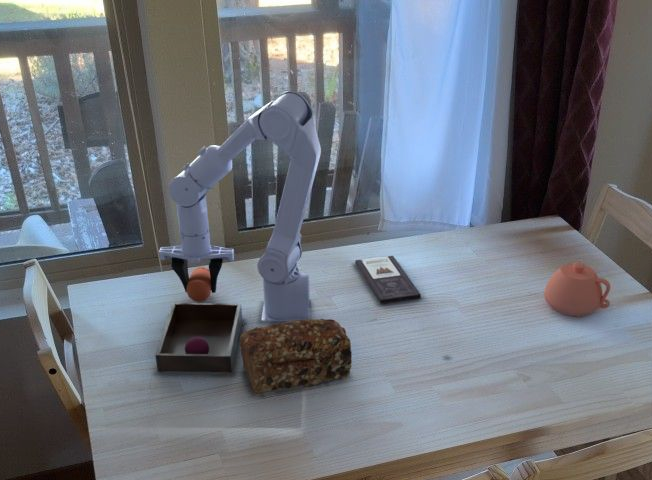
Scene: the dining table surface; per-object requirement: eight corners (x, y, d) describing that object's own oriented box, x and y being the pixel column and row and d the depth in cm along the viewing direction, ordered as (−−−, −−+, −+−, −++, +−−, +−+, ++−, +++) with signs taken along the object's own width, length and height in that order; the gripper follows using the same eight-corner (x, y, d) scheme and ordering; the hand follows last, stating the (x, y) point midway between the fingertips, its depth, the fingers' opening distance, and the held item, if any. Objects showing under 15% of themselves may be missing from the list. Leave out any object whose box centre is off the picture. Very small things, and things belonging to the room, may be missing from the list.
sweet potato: (193, 282, 175) (190, 262, 172) (216, 283, 176) (214, 263, 173) (186, 306, 168) (183, 285, 165) (210, 306, 168) (208, 285, 165)
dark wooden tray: (242, 321, 167) (241, 303, 164) (232, 374, 152) (230, 356, 150) (175, 320, 166) (172, 302, 164) (158, 373, 151) (155, 355, 149)
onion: (211, 352, 157) (209, 332, 154) (208, 365, 153) (206, 345, 150) (188, 351, 156) (185, 332, 154) (184, 365, 153) (181, 345, 150)
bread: (253, 398, 147) (250, 352, 141) (240, 365, 155) (236, 320, 149) (353, 380, 152) (354, 335, 146) (336, 349, 160) (336, 305, 154)
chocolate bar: (380, 299, 174) (355, 260, 187) (380, 303, 174) (355, 264, 188) (420, 294, 177) (392, 255, 190) (420, 298, 177) (392, 259, 191)
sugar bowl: (553, 286, 184) (561, 245, 178) (614, 304, 179) (624, 262, 173) (534, 311, 175) (541, 268, 169) (597, 330, 170) (607, 287, 164)
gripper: (153, 238, 159) (161, 299, 167) (229, 240, 160) (234, 300, 168) (159, 222, 165) (167, 282, 173) (233, 224, 166) (237, 283, 174)
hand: (200, 290), depth 171 cm, fingers closed on sweet potato, 5 cm apart
